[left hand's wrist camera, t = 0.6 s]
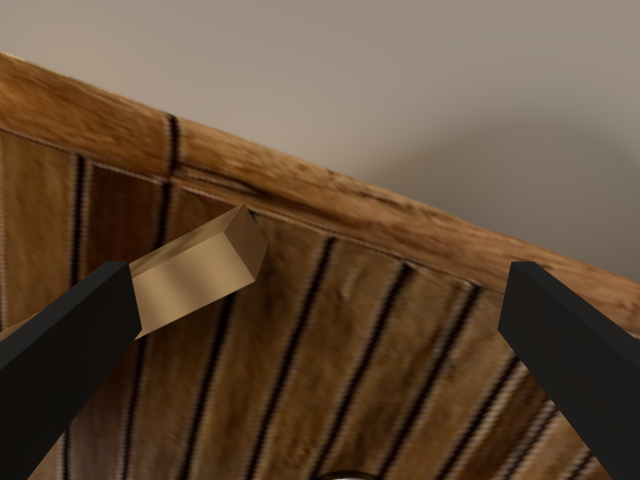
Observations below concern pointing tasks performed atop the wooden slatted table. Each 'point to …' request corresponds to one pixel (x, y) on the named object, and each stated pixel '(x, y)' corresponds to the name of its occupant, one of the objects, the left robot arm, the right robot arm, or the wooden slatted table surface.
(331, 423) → the wooden slatted table surface
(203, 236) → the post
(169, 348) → the wooden slatted table surface
